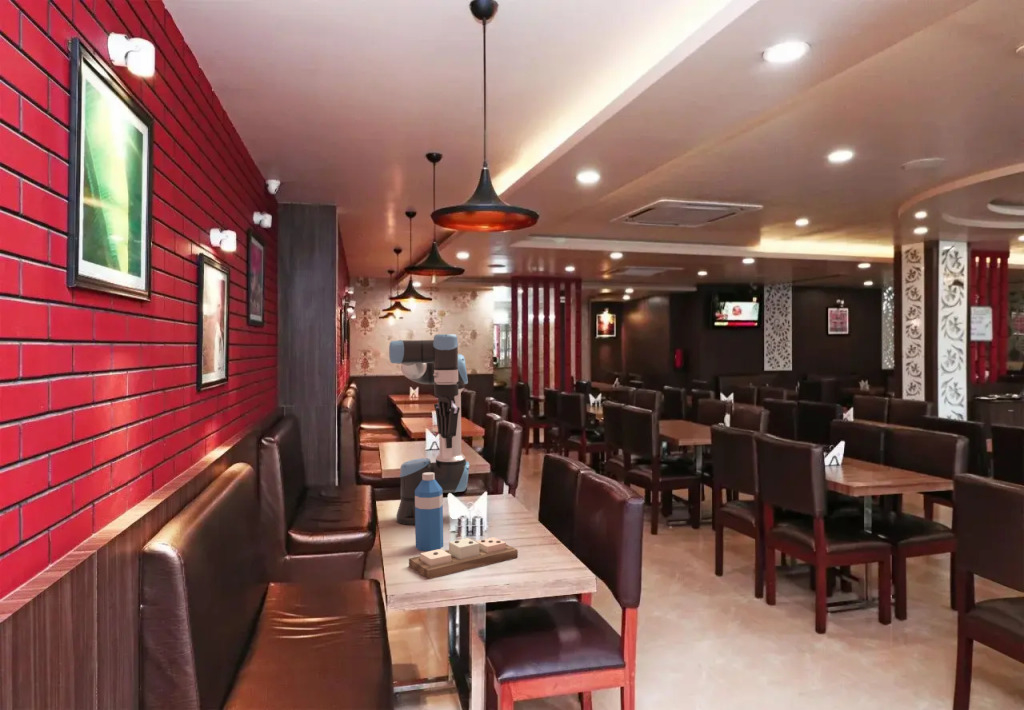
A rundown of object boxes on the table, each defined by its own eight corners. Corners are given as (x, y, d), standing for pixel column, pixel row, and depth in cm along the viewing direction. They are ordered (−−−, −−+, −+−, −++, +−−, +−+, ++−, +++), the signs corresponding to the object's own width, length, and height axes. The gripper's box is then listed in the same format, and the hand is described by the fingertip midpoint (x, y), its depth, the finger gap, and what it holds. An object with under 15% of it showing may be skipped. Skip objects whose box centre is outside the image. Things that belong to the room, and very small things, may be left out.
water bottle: (449, 545, 223) (447, 472, 223) (431, 553, 216) (430, 477, 215) (428, 541, 229) (426, 469, 228) (409, 548, 221) (408, 474, 220)
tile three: (476, 553, 213) (475, 540, 213) (494, 549, 217) (494, 536, 217) (487, 559, 207) (487, 545, 207) (505, 554, 211) (505, 541, 211)
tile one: (420, 566, 202) (420, 552, 202) (440, 561, 206) (440, 547, 206) (431, 572, 196) (430, 558, 196) (451, 567, 200) (451, 553, 200)
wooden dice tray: (409, 566, 203) (408, 558, 203) (495, 546, 221) (495, 539, 221) (428, 578, 192) (428, 570, 192) (517, 557, 210) (517, 549, 210)
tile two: (449, 554, 208) (448, 540, 207) (468, 550, 212) (467, 536, 211) (460, 560, 202) (459, 546, 202) (479, 555, 206) (479, 542, 206)
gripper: (426, 382, 209) (427, 456, 209) (445, 385, 198) (446, 462, 199) (447, 381, 213) (448, 453, 214) (466, 383, 202) (467, 459, 203)
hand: (447, 457), depth 206 cm, fingers closed
